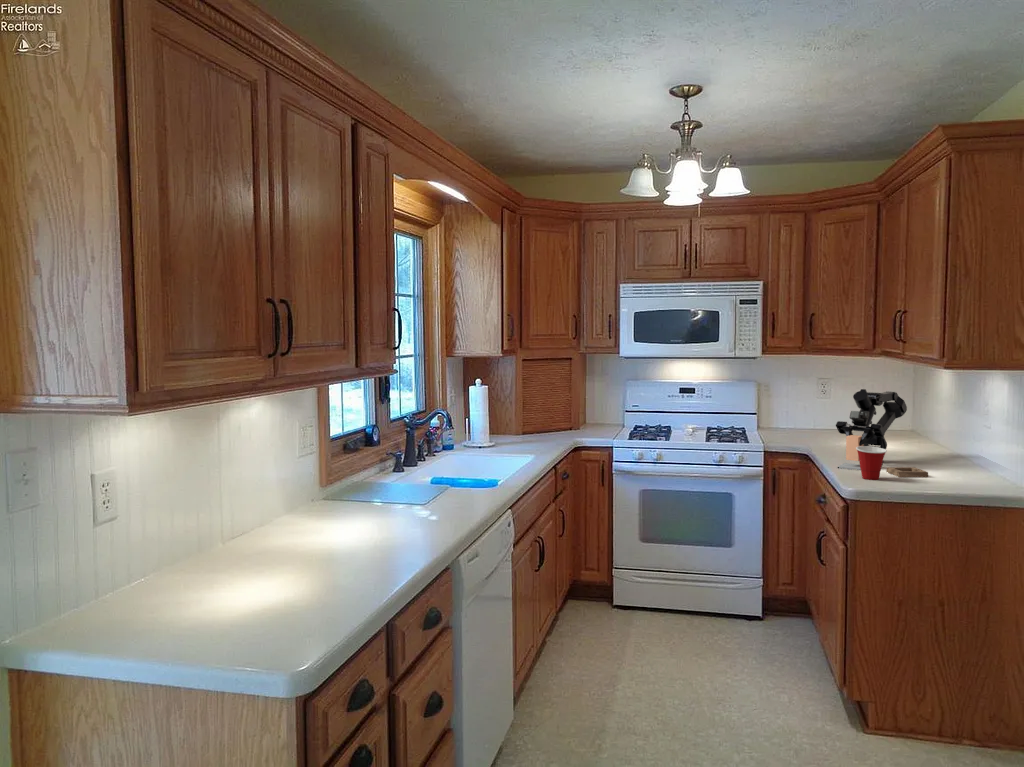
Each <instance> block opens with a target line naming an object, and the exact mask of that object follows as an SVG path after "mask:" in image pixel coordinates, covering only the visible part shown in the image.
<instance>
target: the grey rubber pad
mask: <svg viewBox="0 0 1024 767" xmlns="http://www.w3.org/2000/svg"><path fill="white" fill-rule="evenodd" d="M837 467H839V468H838V469H841V468H847V469H846V470H852V469H857V470H856V471H861V469H860V463H858V464H857V463H849V462H844V463H841V464H840V465H837V466H836V468H837Z"/></svg>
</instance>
